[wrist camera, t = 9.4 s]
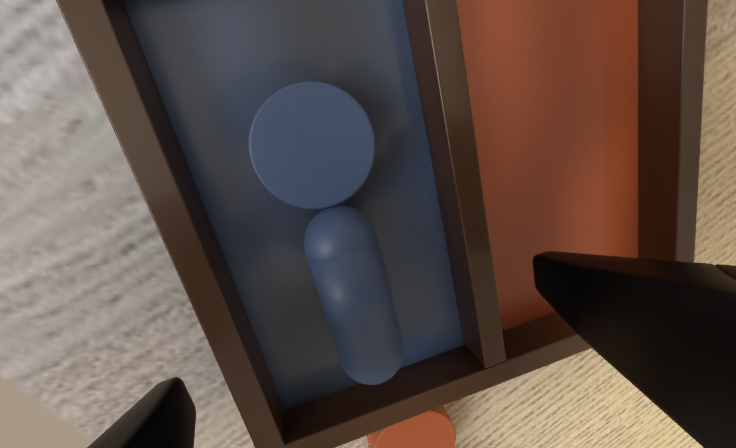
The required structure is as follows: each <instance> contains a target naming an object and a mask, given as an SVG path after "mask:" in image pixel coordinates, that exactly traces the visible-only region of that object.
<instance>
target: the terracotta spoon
mask: <svg viewBox="0 0 736 448" xmlns="http://www.w3.org/2000/svg"><path fill="white" fill-rule="evenodd" d="M367 436H368V443H369V446H370V448H454V445H455V440H456V434H455V428H454V425H453V423H452V422H451V420H450V418H449V416H448V415H447V413H446V411H445V409H444V407H443V406H441V407H438V408H436V409H433V410H431V411H428V412H425V413H423V414H420V415H418V416H415V417H412V418H410V419H407V420H405V421H402V422H400V423H397V424H394V425H392V426H389V427H387V428H384V429H382V430H379V431H376V432H374V433H371V434H369V435H367Z"/></svg>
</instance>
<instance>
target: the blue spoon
mask: <svg viewBox="0 0 736 448" xmlns="http://www.w3.org/2000/svg"><path fill="white" fill-rule="evenodd" d="M248 149H249V157H250V160H251V164H252V167H253V169H254V171H255V173H256V175H257V177H258V179H259V180H260V182H261V183H262V184H263V186H264V187H265V188H266V189H267V190H268V191H269V192H270V193H271V194H272V195H274V196H275V197H276V198H278V199H279V200H281V201H283V202H285V203H287V204H289V205H291V206H295V207H298V208H303V209H324V208H326V209H324V210H322V211H320V212H319V213H318V214H317V215H315V216H314V217H313V219H312V220H311V221H310V223H309V224H308V226H307V229H306V231H305V236H304V249H305V253H306V256H307V260H308V263H309V266H310V269H311V272H312V275H313V278H314V282H315V285H316V288H317V291H318V294H319V297H320V301H321V304H322V307H323V310H324V313H325V316H326V319H327V323H328V326H329V329H330V332H331V335H332V338H333V341H334V345H335V348H336V351H337V354H338V357H339V360H340V363H341V365H342V367H343V369H344V371H345V372H346V373H347V374H348V375H349V377H351V378H352V379H354V380H355V381H356V382H359V383H362V384H366V385H377V384H381V383H383V382H386V381H387V380H389V379H390V378H392V377H393V376H394V375H395V373H396V372H397V371H398V370H399V368H400V366H401V363H402V361H403V356H404V345H403V340H402V335H401V331H400V327H399V323H398V319H397V315H396V311H395V307H394V303H393V299H392V295H391V291H390V287H389V282H388V278H387V274H386V270H385V266H384V262H383V258H382V254H381V250H380V246H379V242H378V238H377V233H376V231H375V228H374V226H373V224H372V222H371V221H370V219H369V218H368V217H367V216H366V215H365V214H364V213H362V212H361V211H359V210H358V209H355V208H353V207H350V206H344V205H338V204H340V203H342V202H344V201H346V200H347V199H349V198H350V197H351V196H353V195H354V194H355V193H356V192H357V191H358V190H359V189H360V188H361V187H362V185H363V184H364V182H365V181H366V180H367V178H368V176H369V174H370V172H371V169H372V166H373V163H374V158H375V149H376V145H375V135H374V130H373V127H372V124H371V121H370V119H369V117H368V115H367V113H366V112H365V110H364V109H363V107H362V106H361V105H360V103H359V102H358V101H357V100H356V99H355V98H354V97H353V96H351V95H350V94H349V93H348V92H346V91H345V90H343V89H341V88H339V87H337V86H335V85H332V84H330V83H326V82H322V81H313V80H312V81H299V82H294V83H291V84H288V85H286V86H284V87H282V88H280V89H278V90H277V91H275V92H274V93H272V94H271V95H270V96H269V97H268V98H267V99H265V101H264V102H263V103H262V104H261V105H260V107H259V108H258V110H257V112H256V113H255V116H254V118H253V120H252V123H251V126H250V130H249V137H248ZM335 205H338V206H335Z"/></svg>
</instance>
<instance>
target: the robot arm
mask: <svg viewBox="0 0 736 448" xmlns="http://www.w3.org/2000/svg"><path fill="white" fill-rule="evenodd" d="M532 263H533V273H534V283H535V287H536V289H537V291H538V292H539V294H540V295H541V296H542V297H543V298H544V299H545V300H546V301H547V302H548V303H549V304H550V306H551V307H552V308H553V309H554V310H555V311H556V312H557V313H558V314H559V315H560V316H561V317H562V319H563V320H564V321H565V322H566V323H567V324H568V325H569V326H570V327H571V328H572V329H573V330H574V331H575V332H576V333H577V334H578V335H579V336H580V337H581V338H582V339H583V340H584V341H585V342H586V343H587V344H588V345H589V346H591V347H592V348H593V349H594V350H595V351H596V352H597V353H598V354H600V355H601V356H602V357H603V358H604V359H605V360H606V361H607V362H608V363H610V364H611V365H612V366H613V367H614V368H615V369H616V370H617V371H619V372H620V373H621V374H622V375H623V376H624V377H625V378H626V379H628V380H629V381H630V382H631V383H632V384H633V385H634V386H635V387H636V388H638V389H639V390H640V391H641V392H642V393H643V394H644V395H645V396H647V397H648V398H649V399H650V400H651V401H652V402H653V403H654V404H656V405H657V406H658V407H659V408H660V409H661V410H662V411H663V412H664V413H666V414H667V415H668V416H669V417H670V418H671V419H672V420H673V421H675V422H676V423H677V424H678V425H679V426H680V427H681V428H682V429H684V430H685V431H686V432H687V433H688V434H689V435H690V436H691V437H692V438H694V439H695V440H696V441H697V442H698V443H699V444H700V445H701V446H703V447H704V448H736V266H731V265H719V264H717V265H715V266H714V265H713V264H706V263H694V262H681V261H669V260H657V259H644V258H632V257H620V256H607V255H595V254H583V253H570V252H558V251H546V252H543V253H540V254H537V255H535V256H534V257H533V260H532ZM195 422H196V409H195V405H194V403H193V401H192V399H191V397H190V395H189V393H188V391H187V389H186V387H185V385H184V383H183V381H182V380H181V379H180V378H178V377H174V378H171V379H168V380H166V381H163V382H160V383H158V384H157V385H156V386H155V387H154V388H153V389H152V390H151V391H149V392H148V393H147V394H146V395H145V396H144V397H143V398H142V399H141V400H139V401H138V402H137V403H136V404H135V405H134V406H133V407H132V408H131V409H130V410H128V411H127V412H126V413H125V414H124V415H123V416H122V417H121V418H120V419H118V420H117V421H116V422H115V423H114V424H113V425H112V426H111V427H110V428H108V429H107V430H106V431H105V432H104V433H103V434H102V435H101V436H100V437H99V438H97V439H96V440H95V441H94V442H93V443H92V444H91V445H90V446H89V447H87V448H193V447H194V434H195Z"/></svg>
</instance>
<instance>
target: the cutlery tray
mask: <svg viewBox="0 0 736 448" xmlns="http://www.w3.org/2000/svg"><path fill="white" fill-rule="evenodd" d="M56 1H57V3H58V6H59V8H60V10H61V12H62V15H63V17H64V19H65V21H66V24H67V26H68V28H69V30H70V33H71V35H72V37H73V39H74V42H75V44H76V46H77V48H78V51H79V53H80V55H81V57H82V60H83V62H84V64H85V66H86V69H87V71H88V73H89V75H90V78H91V80H92V82H93V84H94V87H95V89H96V91H97V93H98V96H99V98H100V100H101V102H102V104H103V107H104V109H105V111H106V113H107V116H108V118H109V120H110V122H111V125H112V127H113V129H114V131H115V134H116V136H117V138H118V140H119V143H120V145H121V147H122V149H123V152H124V154H125V156H126V158H127V161H128V163H129V165H130V167H131V170H132V172H133V174H134V176H135V179H136V181H137V183H138V185H139V188H140V190H141V192H142V194H143V197H144V199H145V201H146V203H147V205H148V208H149V210H150V212H151V214H152V217H153V219H154V221H155V223H156V226H157V228H158V230H159V232H160V235H161V237H162V239H163V241H164V244H165V246H166V248H167V250H168V253H169V255H170V257H171V259H172V262H173V264H174V266H175V268H176V271H177V273H178V275H179V277H180V280H181V282H182V284H183V286H184V289H185V291H186V293H187V295H188V298H189V300H190V302H191V304H192V306H193V309H194V311H195V313H196V315H197V318H198V320H199V322H200V324H201V327H202V329H203V331H204V333H205V336H206V338H207V340H208V342H209V345H210V347H211V349H212V351H213V354H214V356H215V358H216V360H217V363H218V365H219V367H220V369H221V372H222V374H223V376H224V378H225V381H226V383H227V385H228V387H229V390H230V392H231V394H232V396H233V399H234V401H235V403H236V405H237V407H238V410H239V412H240V414H241V416H242V419H243V421H244V423H245V425H246V428H247V430H248V432H249V434H250V437H251V439H252V441H253V443H254V446H255V448H335V447H338V446H340V445H343V444H346V443H348V442H351V441H353V440H356V439H358V438H361V437H364V436H366V435H369V434H371V433H374V432H376V431H379V430H382V429H384V428H387V427H389V426H392V425H394V424H397V423H400V422H402V421H405V420H407V419H410V418H412V417H415V416H418V415H420V414H423V413H425V412H428V411H431V410H433V409H436V408H438V407H441V406H443V405H446V404H449V403H451V402H454V401H456V400H459V399H461V398H464V397H467V396H469V395H472V394H474V393H477V392H479V391H482V390H485V389H487V388H490V387H492V386H495V385H497V384H500V383H503V382H505V381H508V380H510V379H513V378H516V377H518V376H521V375H523V374H526V373H528V372H531V371H534V370H536V369H539V368H541V367H544V366H546V365H549V364H552V363H554V362H557V361H559V360H562V359H564V358H567V357H570V356H572V355H575V354H577V353H580V352H582V351H585V350H588V349H590V348H592V347H591V346H589V345H588V344H587V343H586V342H585V341H584V340H583V339H582V338H581V337H580V336H579V335H578V334H577V333H576V332H575V331H574V330H573V329H572V328H571V327H570V326H569V325H568V324H567V323H566V322H565V321H564V320H563V319H562V317H561V316H560V315H559V314H558V313H557V312H556V311H555V310H554V309H553V308H552V307H551V306H550V304H549V303H548V302H547V301H546V300H545V299H544V298H543V297H542V296H541V295H540V294H539V292H538V291H537V289H536V287H535V283H534V273H533V263H532V260H533V257H534V256H535V255H537V254H540V253H543V252H546V251H558V252H570V253H583V254H595V255H607V256H620V257H632V258H644V259H657V260H669V261H681V262H694V252H695V233H696V214H697V195H698V176H699V157H700V137H701V118H702V99H703V80H704V61H705V42H706V23H707V4H708V0H56ZM312 80H313V81H322V82H326V83H330V84H332V85H335V86H337V87H339V88H341V89H343V90H345V91H346V92H348V93H349V94H350V95H351V96H353V97H354V98H355V99H356V100H357V101H358V102H359V103H360V105H361V106H362V107H363V109H364V110H365V112H366V113H367V115H368V117H369V119H370V121H371V124H372V127H373V130H374V135H375V145H376V149H375V158H374V163H373V166H372V169H371V172H370V174H369V176H368V178H367V180H366V181H365V182H364V184H363V185H362V187H361V188H360V189H359V190H358V191H357V192H356V193H355V194H354V195H353V196H351V197H350V198H349V199H347V200H346V201H344V202H342V203H340V204H338V205H344V206H350V207H353V208H355V209H358V210H359V211H361V212H362V213H364V214H365V215H366V216H367V217H368V218H369V219H370V221H371V222H372V224H373V226H374V228H375V231H376V233H377V238H378V242H379V246H380V250H381V254H382V258H383V262H384V266H385V270H386V274H387V278H388V282H389V287H390V291H391V295H392V299H393V303H394V307H395V311H396V315H397V319H398V323H399V327H400V331H401V335H402V340H403V345H404V356H403V361H402V363H401V366H400V368H399V370H398V371H397V372H396V373H395V375H394V376H393V377H392V378H390V379H389V380H387V381H386V382H383V383H381V384H377V385H366V384H362V383H359V382H356V381H355V380H354V379H352V378H351V377H349V375H348V374H347V373H346V372H345V371H344V369H343V367H342V365H341V363H340V360H339V357H338V354H337V351H336V348H335V345H334V341H333V338H332V335H331V332H330V329H329V326H328V323H327V319H326V316H325V313H324V310H323V307H322V304H321V301H320V297H319V294H318V291H317V288H316V285H315V282H314V278H313V275H312V272H311V269H310V266H309V263H308V260H307V256H306V253H305V249H304V236H305V231H306V229H307V226H308V224H309V223H310V221H311V220H312V219H313V217H314V216H315V215H317V214H318V213H319V212H320V211H322V210H324V209H326V208H324V209H303V208H298V207H295V206H291V205H289V204H287V203H285V202H283V201H281V200H279V199H278V198H276V197H275V196H274V195H272V194H271V193H270V192H269V191H268V190H267V189H266V188H265V187H264V186H263V184H262V183H261V182H260V180H259V179H258V177H257V175H256V173H255V171H254V169H253V167H252V164H251V160H250V157H249V149H248V137H249V130H250V126H251V123H252V120H253V118H254V116H255V113H256V112H257V110H258V108H259V107H260V105H261V104H262V103H263V102H264V101H265V99H267V98H268V97H269V96H270V95H271V94H272V93H274V92H275V91H277V90H278V89H280V88H282V87H284V86H286V85H288V84H291V83H294V82H299V81H312ZM338 205H335V206H338Z"/></svg>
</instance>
